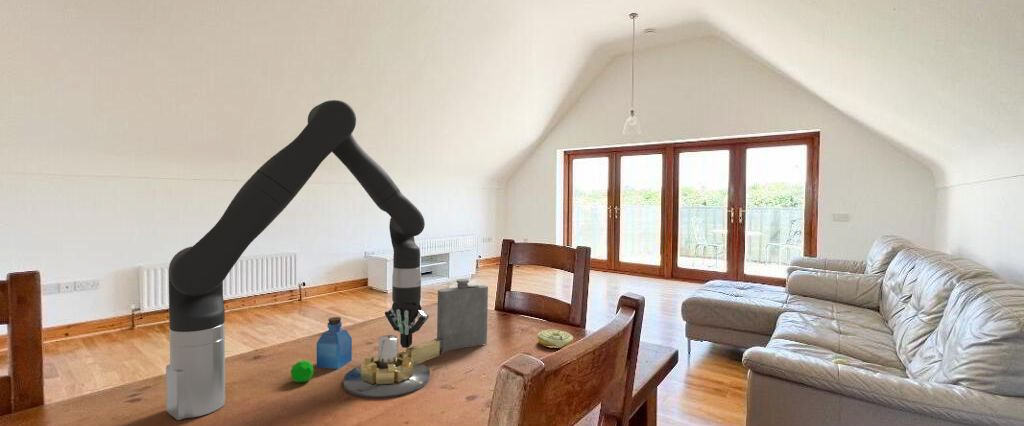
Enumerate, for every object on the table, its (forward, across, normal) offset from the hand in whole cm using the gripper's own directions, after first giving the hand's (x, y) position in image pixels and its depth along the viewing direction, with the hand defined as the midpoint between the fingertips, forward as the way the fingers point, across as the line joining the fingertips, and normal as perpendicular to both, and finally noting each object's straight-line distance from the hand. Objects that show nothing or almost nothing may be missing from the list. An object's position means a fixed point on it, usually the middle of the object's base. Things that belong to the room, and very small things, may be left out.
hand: (406, 346), depth 120 cm
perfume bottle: (+4, -16, -10) cm, 19 cm away
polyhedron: (+4, -15, -21) cm, 26 cm away
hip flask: (+4, +9, +16) cm, 19 cm away
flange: (+4, +3, -13) cm, 14 cm away
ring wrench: (+2, +5, -7) cm, 9 cm away
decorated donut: (+4, +34, +29) cm, 45 cm away
